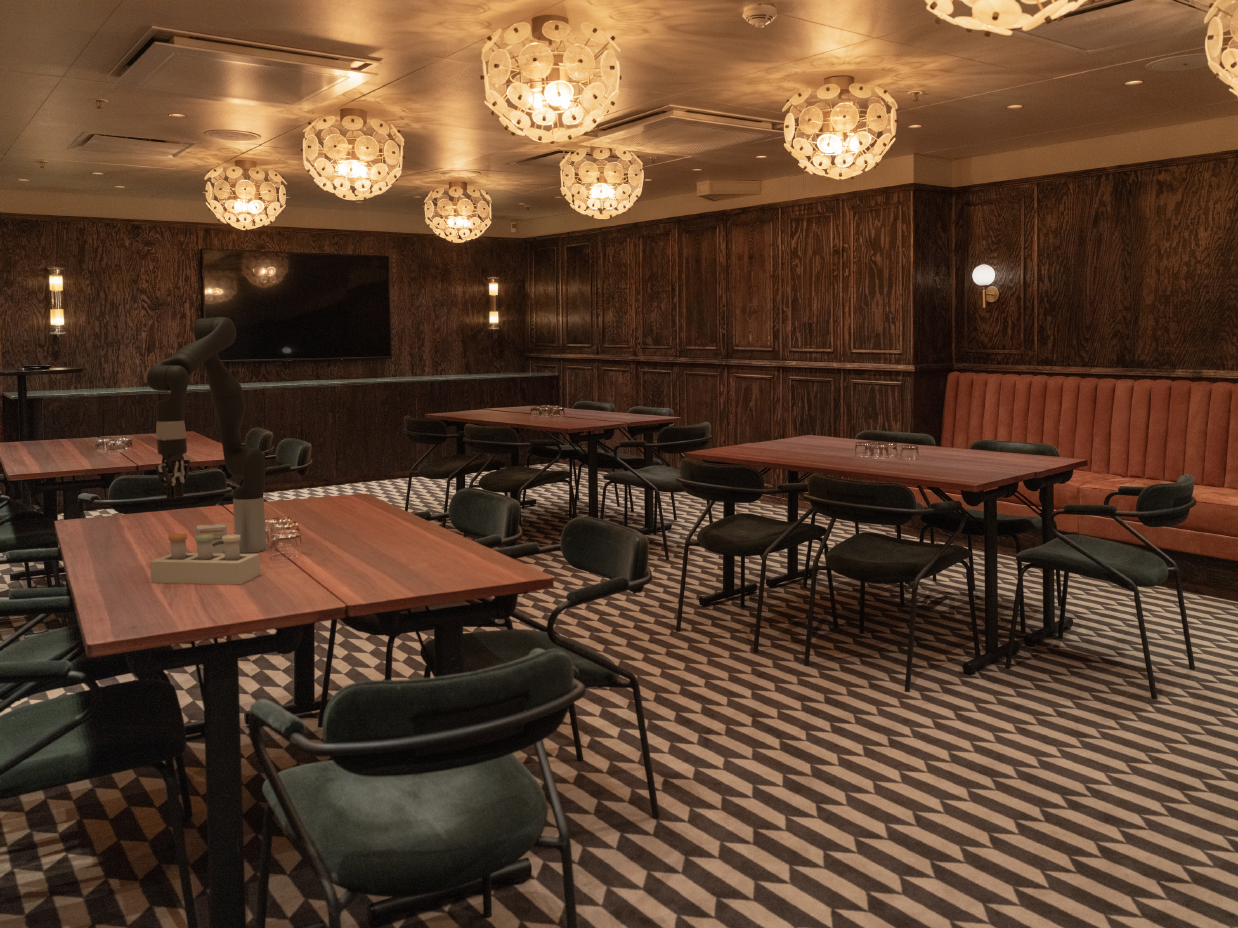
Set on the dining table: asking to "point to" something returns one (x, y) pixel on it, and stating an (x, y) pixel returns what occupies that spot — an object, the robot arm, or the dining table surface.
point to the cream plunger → (231, 547)
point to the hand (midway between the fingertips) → (175, 497)
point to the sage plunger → (204, 546)
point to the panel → (205, 569)
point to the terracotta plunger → (178, 546)
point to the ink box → (217, 532)
